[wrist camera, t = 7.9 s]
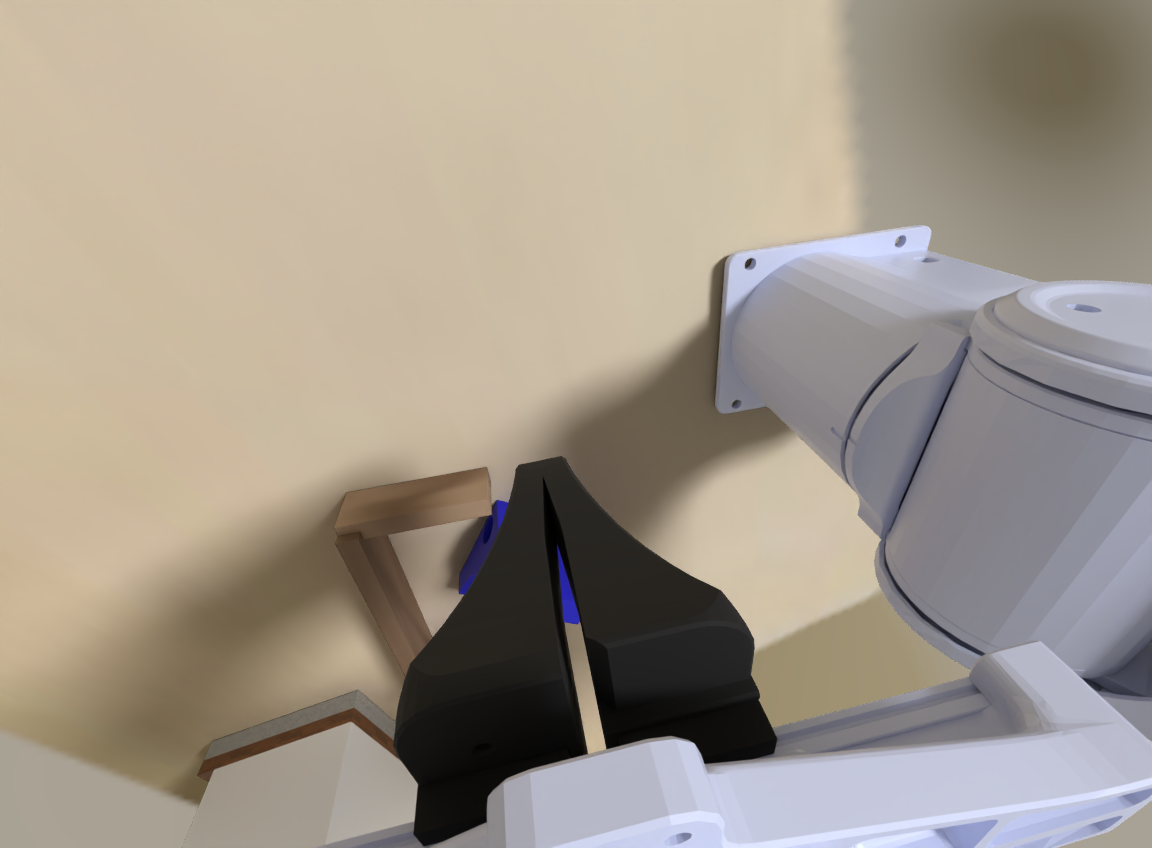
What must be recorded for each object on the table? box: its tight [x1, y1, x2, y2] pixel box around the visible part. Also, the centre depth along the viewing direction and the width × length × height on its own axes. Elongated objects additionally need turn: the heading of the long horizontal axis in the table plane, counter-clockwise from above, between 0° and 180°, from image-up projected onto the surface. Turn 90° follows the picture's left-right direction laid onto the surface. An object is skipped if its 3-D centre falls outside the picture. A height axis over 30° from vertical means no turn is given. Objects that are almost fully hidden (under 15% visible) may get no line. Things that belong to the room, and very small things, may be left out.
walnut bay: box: [334, 467, 492, 677], centre depth 28 cm, size 7×18×3 cm, turn 6°
